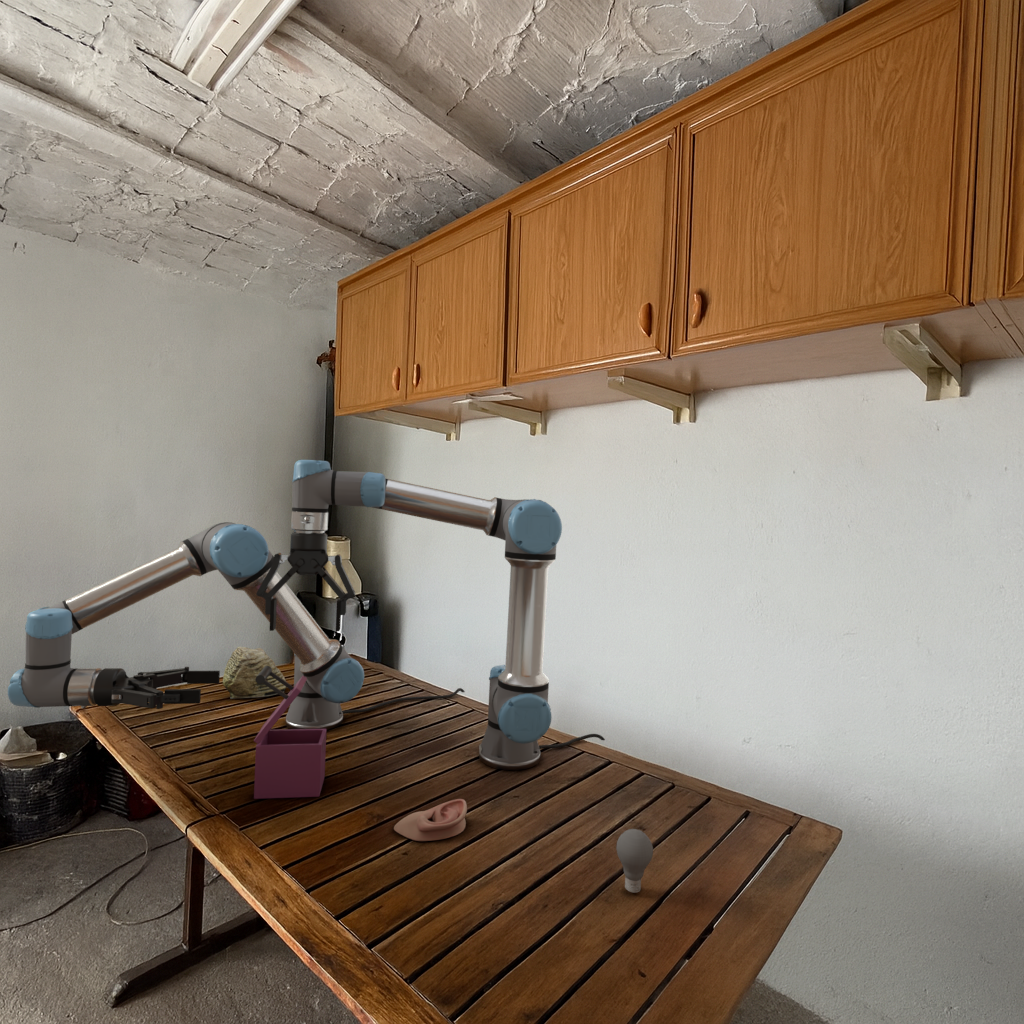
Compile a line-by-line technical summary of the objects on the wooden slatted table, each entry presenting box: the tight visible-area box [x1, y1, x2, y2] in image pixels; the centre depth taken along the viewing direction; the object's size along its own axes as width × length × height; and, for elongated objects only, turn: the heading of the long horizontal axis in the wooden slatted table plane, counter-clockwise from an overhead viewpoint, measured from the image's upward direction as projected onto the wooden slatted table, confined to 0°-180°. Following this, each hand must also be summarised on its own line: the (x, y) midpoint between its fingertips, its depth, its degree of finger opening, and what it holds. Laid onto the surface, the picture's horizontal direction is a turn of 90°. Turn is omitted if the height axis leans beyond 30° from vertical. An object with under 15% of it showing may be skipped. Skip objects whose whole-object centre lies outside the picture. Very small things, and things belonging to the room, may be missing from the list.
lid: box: [253, 666, 307, 745], centre depth 136 cm, size 14×9×9 cm
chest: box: [253, 728, 327, 800], centre depth 137 cm, size 13×9×11 cm
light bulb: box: [615, 828, 654, 894], centre depth 106 cm, size 6×6×10 cm
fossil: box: [222, 646, 287, 699], centre depth 198 cm, size 9×18×15 cm, turn 132°
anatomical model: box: [393, 798, 468, 842], centre depth 123 cm, size 13×4×12 cm
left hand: (210, 686), depth 134 cm, fingers open, 13 cm apart
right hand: (305, 629), depth 137 cm, fingers open, 13 cm apart
